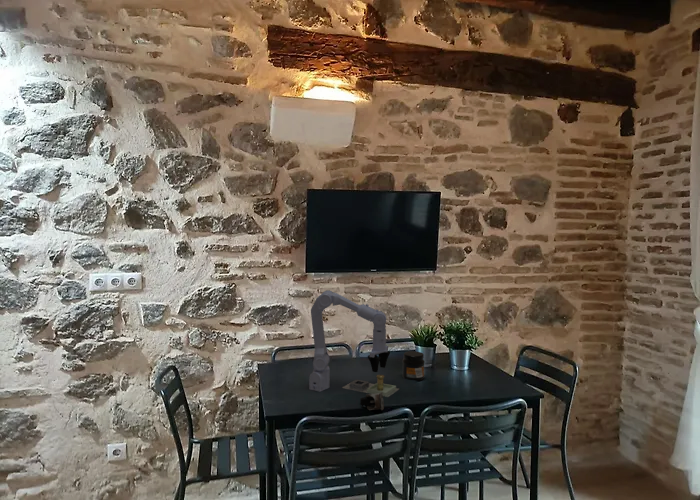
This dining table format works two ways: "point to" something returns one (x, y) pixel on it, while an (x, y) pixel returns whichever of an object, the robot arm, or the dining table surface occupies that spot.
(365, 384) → the tensioner collar
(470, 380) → the dining table surface
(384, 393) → the tray
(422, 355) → the supplement container
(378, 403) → the caster wheel
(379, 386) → the lock pin
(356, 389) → the plate
